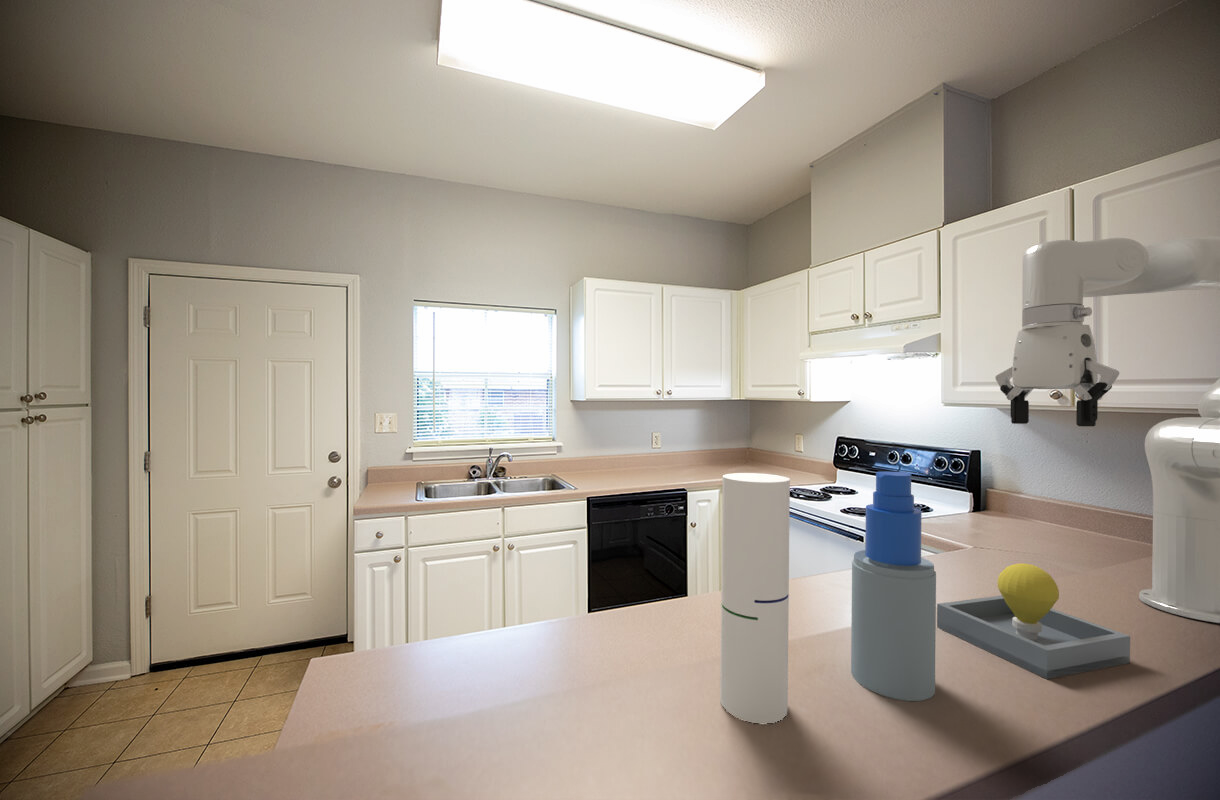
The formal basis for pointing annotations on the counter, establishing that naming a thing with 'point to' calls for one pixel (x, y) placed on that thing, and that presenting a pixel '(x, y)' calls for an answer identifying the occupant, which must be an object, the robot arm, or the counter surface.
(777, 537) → the cylindrical container
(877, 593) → the spray bottle
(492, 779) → the counter surface
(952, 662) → the counter surface
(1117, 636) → the tray
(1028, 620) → the light bulb
